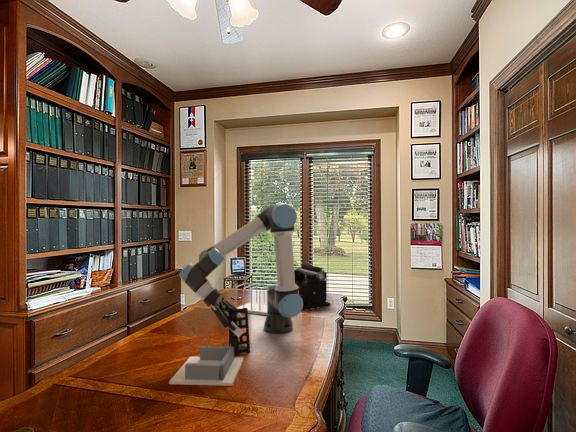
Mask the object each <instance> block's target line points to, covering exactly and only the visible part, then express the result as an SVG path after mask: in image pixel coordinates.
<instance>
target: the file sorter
mask: <svg viewBox="0 0 576 432" xmlns="http://www.w3.org/2000/svg"><path fill="white" fill-rule="evenodd" d="M244 285H247V286H244ZM269 285H270V284H268V285H266V286H265V285H264V283H261V284H259V285H257V283H252V284H250V283H249V282H244V283H242V284H238V285H237V286H236V287H235V291H234V293H235V297H234V298H235V307H236V308H237V309H242V308H247V309H248V314H255V315H261V316H267V303H266V302H265V299H266V298H265V288H267V287H268V286H269ZM241 286H244V288H242V289H243V290H242V305H238V304H237V303H238V302H237V300H238V299H237V289H238V288H239V287H241ZM252 286H254V287H252ZM260 286H262V287H261V288H260ZM250 287H252V288H251V290H250ZM258 287H259V288H260V289H259V301H258ZM246 288H248V302H246V303H245V290H246ZM254 289H255V302H253V290H254ZM262 290H263V303H261V294H262V293H261V292H262ZM237 305H238V306H237Z"/></svg>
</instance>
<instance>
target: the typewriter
mask: <svg viewBox="0 0 576 432" xmlns="http://www.w3.org/2000/svg"><path fill="white" fill-rule="evenodd" d="M294 275H295V284H296V285H297V286H298V287H299V296H300V297H301V298H302V300H303V308H302V310H303V311H306V310H305V309H309V310H312V309H311V308H315V309H318V308H317V307H321V308H324V307H323V306H327V307H330V306H329V305H331V302H329V301H327V298H328V297H327V295H328V294H327V293H328V291H327V289H328V285H327V282H328V281H327V280H328V279H327V277H328V276H327V272H326V271H325V270H324V267H320V266H316V265H315V266H314V265H310V264H306V263H302V264H300V267H297V268H296V269H294ZM331 306H332V305H331Z"/></svg>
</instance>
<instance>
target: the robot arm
mask: <svg viewBox="0 0 576 432" xmlns="http://www.w3.org/2000/svg"><path fill="white" fill-rule="evenodd" d="M297 214H298V213H297V212H296V210H295V208H294V207H293V206H292V205H290V204H289V203H284V202H281V203H276V204H272V205H268V207H266V208H265V209H263V210H262V211H261V212H259V213H258V214H257V215H255V216H254V218H253V219H252V220H251V221H249V222H247V223H246V224H245V225H243V226H241V227H240V228H238V229H237V230H235V231H234V232H232V233H231V234H229V235H228V236H226V237H225V238H223V239H221V240H220V241H218V242H217V243H215V244H213V245H212V246H210V247H209V248H207V249H204V250H202V251H201V252H200V253H199V255H198V262H196V263H195V264H193V263H189V264H187V265H186V266H184V267H183V268H182V269H181V270H180V271H179V275H178V276H179V278H180V279H181V280H182V281H183V282H184V283H185V285H186V286H187V287H189V289H191V291H193V292H194V294H196V297H199V299H200V300H202V301H203V303H204V304H205V305H206V306H207V307H210V306H211V307H210V310H211V311H212V312H213V313H214V314H215V316H216V317H217V319H218V320H219V321H220V323H221V324H222V326H223V328H225V329H226V328H228V329H229V328H230V330H231V331H232V332H233V333H234V334H235V335H236V336H237V337H238V339H240V336H241V335H242V334H243V333H244V331H243V330H241V329H240V328H239V327H238V326H239V325H238V324H237V325H238V326H237V325H236V324H235V323H234V322H233V321H232V322H231V320H230V318H229V317H228V313H229V312H228V305H229V307H230V308H233V309H237V308H236V305H234V304H232V302H229V300H227V299H226V298H225V297H224V296H222V297H220V296H221V295H222V293H221V292H220V291H219V290H218V289H217V288H215V285H214V284H213V283H211V282H210V280H209V279H208V278H207V277H209V275H211V274H212V273H213V272H214V271H215V270H217V268H218V267H220V266H221V265H222V264H223V262H224V261H225V257H226V256H228V255H229V254H231V253H232V252H234V251H235V250H236V249H238V248H240V247H242V246H243V245H244V244H246V243H247V242H249V241H251V240H252V239H253V238H255V237H257V236H258V235H259V234H260V235H261V233H266V232H268V231H270V233H271V235H273V238H274V239H273V242H274V255H275V257H274V258H275V269H276V280H277V282H276V284H268V285H269V286H268V285H267V286H268V287H266V288H267V289H266V297H267V299H266V302H267V303H266V304H267V315H266V317H265V320H264V322H263V323H264V324H263V329H264V331H265V332H267V333H272V334H285V333H289V332H291V331H293V329H294V324H293V320H292V318H294V317H295V318H296V317H298V315H300V313H301V312H302V311H301V310H302V308H303V300H302V298H301V297H300V296H299V287H298V286H297V285H296V284H295V275H294V270H295V266H294V265H295V263H294V251H293V249H294V248H293V237H292V235H293V233H295V225H296V223H297V220H298V219H297V218H298V215H297ZM237 317H238V318H240V317H244V316H243V315H242V314H241V313H237ZM249 323H250V322H249V321H248V324H249ZM245 324H246V323H245V320H242V325H245Z"/></svg>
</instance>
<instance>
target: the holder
mask: <svg viewBox="0 0 576 432" xmlns="http://www.w3.org/2000/svg"><path fill="white" fill-rule="evenodd" d="M237 313H240V314H241V313H244V316H243V317H240V318H238V317H237ZM227 315H228V317H229V318H230V320H231V322H232V321H233V322H234V323H235V324H236V325H237V326H238V327H239V328H240V329H245V332H243V334H242V335H241V336H240V337H239V338H238V337H237V336H236V335H235V334H234V333H233V332H232V331H231V330H230V328H229V327H228V346H234V355H238V354H244V353H251V347H250V346H251V345H250V330H249V329H250V328H249V327H250V325H249V323H248V322H249V313H248V309H247V308H242V309H233V308H230V307H229V305H228V312H227ZM242 320H245V323H246V324H245V325H242ZM244 337H246V340H244V339H243V338H244Z"/></svg>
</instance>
